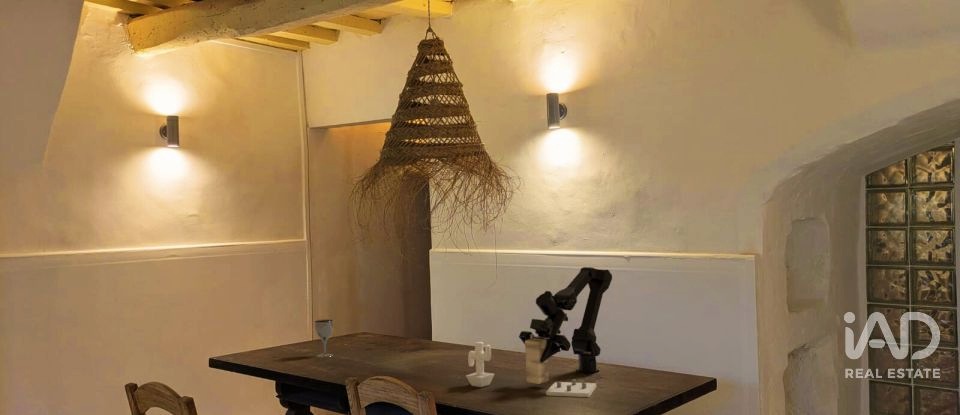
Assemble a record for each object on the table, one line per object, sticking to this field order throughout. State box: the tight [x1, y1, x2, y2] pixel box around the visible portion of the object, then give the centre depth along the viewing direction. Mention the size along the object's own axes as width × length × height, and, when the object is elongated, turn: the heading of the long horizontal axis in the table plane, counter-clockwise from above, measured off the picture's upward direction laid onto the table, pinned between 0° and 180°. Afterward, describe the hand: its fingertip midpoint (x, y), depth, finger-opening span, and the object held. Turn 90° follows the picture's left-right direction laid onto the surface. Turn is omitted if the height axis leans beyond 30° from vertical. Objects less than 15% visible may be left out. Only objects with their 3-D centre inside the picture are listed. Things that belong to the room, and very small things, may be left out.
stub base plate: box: [545, 378, 597, 398], centre depth 266 cm, size 14×14×3 cm
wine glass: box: [313, 319, 334, 358], centre depth 343 cm, size 8×8×15 cm
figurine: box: [465, 341, 495, 388], centre depth 279 cm, size 7×9×15 cm
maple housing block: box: [524, 338, 549, 385], centre depth 272 cm, size 5×5×14 cm
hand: (534, 361), depth 271 cm, fingers closed on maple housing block, 5 cm apart
